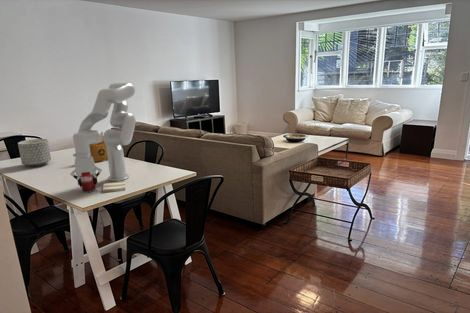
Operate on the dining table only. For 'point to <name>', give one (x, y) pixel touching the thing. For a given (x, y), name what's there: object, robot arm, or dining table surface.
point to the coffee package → (99, 151)
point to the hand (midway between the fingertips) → (88, 184)
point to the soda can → (87, 182)
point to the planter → (34, 152)
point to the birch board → (114, 186)
